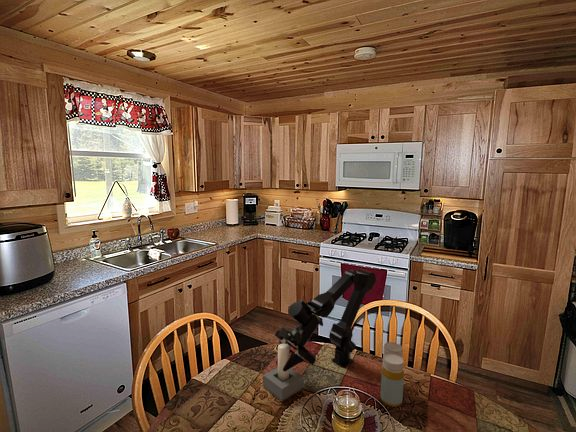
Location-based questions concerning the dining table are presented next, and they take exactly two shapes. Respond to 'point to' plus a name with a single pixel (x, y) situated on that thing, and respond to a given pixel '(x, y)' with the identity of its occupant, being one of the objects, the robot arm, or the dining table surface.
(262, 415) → the dining table surface
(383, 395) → the bottle
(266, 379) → the hole block
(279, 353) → the peg
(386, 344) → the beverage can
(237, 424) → the dining table surface
